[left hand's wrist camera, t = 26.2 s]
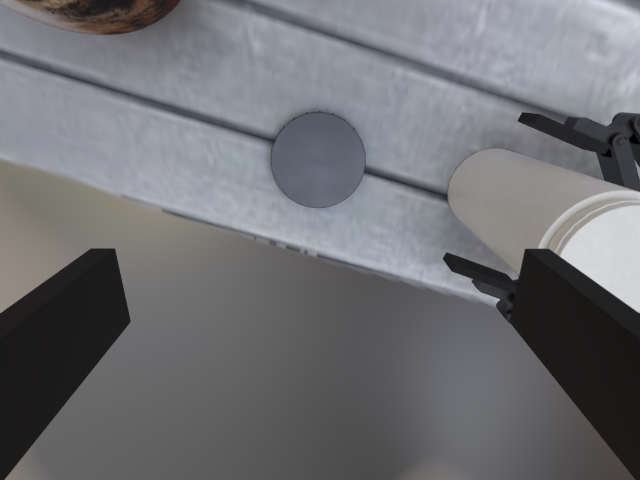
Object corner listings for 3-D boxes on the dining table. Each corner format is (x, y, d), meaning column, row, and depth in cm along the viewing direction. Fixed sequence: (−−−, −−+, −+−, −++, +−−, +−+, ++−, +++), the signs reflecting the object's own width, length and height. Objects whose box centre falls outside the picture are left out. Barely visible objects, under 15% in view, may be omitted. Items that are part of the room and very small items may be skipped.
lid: (382, 168, 39) (384, 171, 38) (309, 221, 41) (309, 226, 39) (327, 90, 36) (328, 90, 35) (253, 150, 38) (250, 153, 37)
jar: (452, 148, 38) (563, 196, 21) (537, 147, 38) (719, 195, 21) (443, 228, 41) (533, 329, 24) (521, 228, 41) (669, 328, 24)
